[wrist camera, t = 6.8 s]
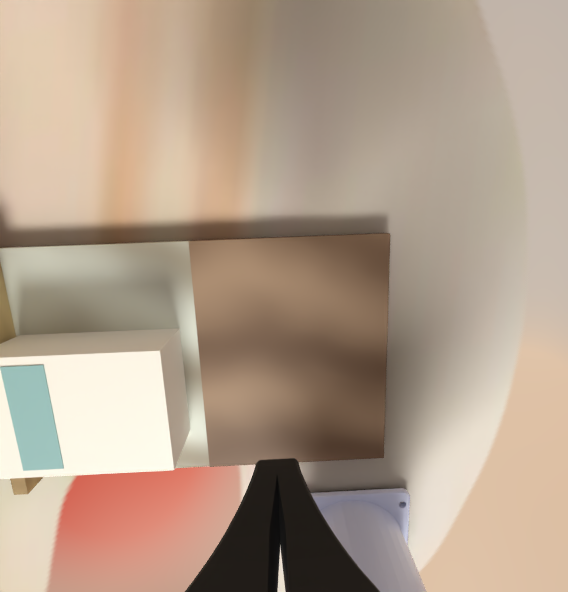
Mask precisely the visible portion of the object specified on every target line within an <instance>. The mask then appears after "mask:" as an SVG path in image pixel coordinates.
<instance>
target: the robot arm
mask: <svg viewBox="0 0 568 592" xmlns="http://www.w3.org/2000/svg"><path fill="white" fill-rule="evenodd" d="M400 502H403V503H400ZM409 506H410V495H409V493H408V491H407V490H406V489H404V488H395V489H376V490H357V491H339V492H320V493H310V491H309V489H308V487H307V485H306V482H305V480H304V478H303V475H302V473H301V470H300V467H299V463H298V461H297V460H296V459H295V458H287V459H268V460H259V461H258V462H257V463H256V466H255V470H254V473H253V476H252V479H251V481H250V484H249V486H248V489H247V491H246V493H245V495H244V497H243V500H242V502H241V504H240V506H239V508H238V510H237V512H236V514H235V516H234V518H233V520H232V521H231V523H230V525H229V527H228V529H227V531H226V533H225V535H224V536H223V538H222V539H221V541H220V543H219V544H218V546H217V547H216V549H215V550H214V552H213V554H212V555H211V557H210V558H209V560H208V561H207V563H206V564H205V565H204V567H203V568H202V570H201V571H200V572H199V574H198V575H197V576H196V578H195V579H194V581H193V582H192V583H191V585H190V586H189V587H188V588H187V590H186V591H185V592H277V588H278V571H279V554H280V545H281V554H282V563H283V572H284V581H285V590H286V592H426V590H425V587H424V584H423V582H422V580H421V577H420V575H419V572H418V570H417V568H416V565H415V563H414V560H413V558H412V555H411V553H410V551H409V548H408V526H409Z"/></svg>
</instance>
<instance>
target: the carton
mask: <svg viewBox="0 0 568 592" xmlns="http://www.w3.org/2000/svg"><path fill="white" fill-rule="evenodd" d="M189 432H190V423H189V413H188V403H187V394H186V384H185V375H184V365H183V356H182V346H181V337H180V328H174V329H151V330H127V331H104V332H81V333H57V334H34V335H19V336H17V337H15V338H12V339H10V340H8V341H6V342H3V343H1V344H0V479H12V478H32V477H51V476H71V475H89V474H108V473H129V472H147V471H166V470H174V469H175V467H176V464H177V462H178V459H179V457H180V454H181V452H182V449H183V447H184V444H185V442H186V439H187V437H188V434H189Z"/></svg>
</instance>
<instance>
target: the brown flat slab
mask: <svg viewBox="0 0 568 592" xmlns="http://www.w3.org/2000/svg"><path fill="white" fill-rule="evenodd" d="M389 259H390V234H388V233H375V234H348V235H322V236H295V237H269V238H243V239H216V240H190V241H163V242H137V243H110V244H84V245H57V246H31V247H5V248H0V344H1V343H3V342H6V341H8V340H10V339H12V338H15V337H17V336H19V335H34V334H57V333H81V332H104V331H127V330H151V329H174V328H180V337H181V346H182V356H183V365H184V375H185V384H186V394H187V403H188V413H189V423H190V432H189V434H188V437H187V439H186V442H185V444H184V447H183V449H182V452H181V454H180V457H179V459H178V462H177V464H176V467H175V468H184V467H203V466H210V467H214V466H234V465H253V464H256V463H257V462H258V461H259V460H268V459H287V458H295V459H296V460H297V461H298V462H312V461H331V460H350V459H370V458H384V430H385V396H386V362H387V327H388V293H389ZM42 478H43V477H32V478H12V479H10V480H11V484H12V488H13V492H14V495H17V494H28V493H29V492H30V491H31V490H32V489H33V488H34V487H35V486H36V485H37V483H38V482H39V481H40V480H41V479H42Z"/></svg>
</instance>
